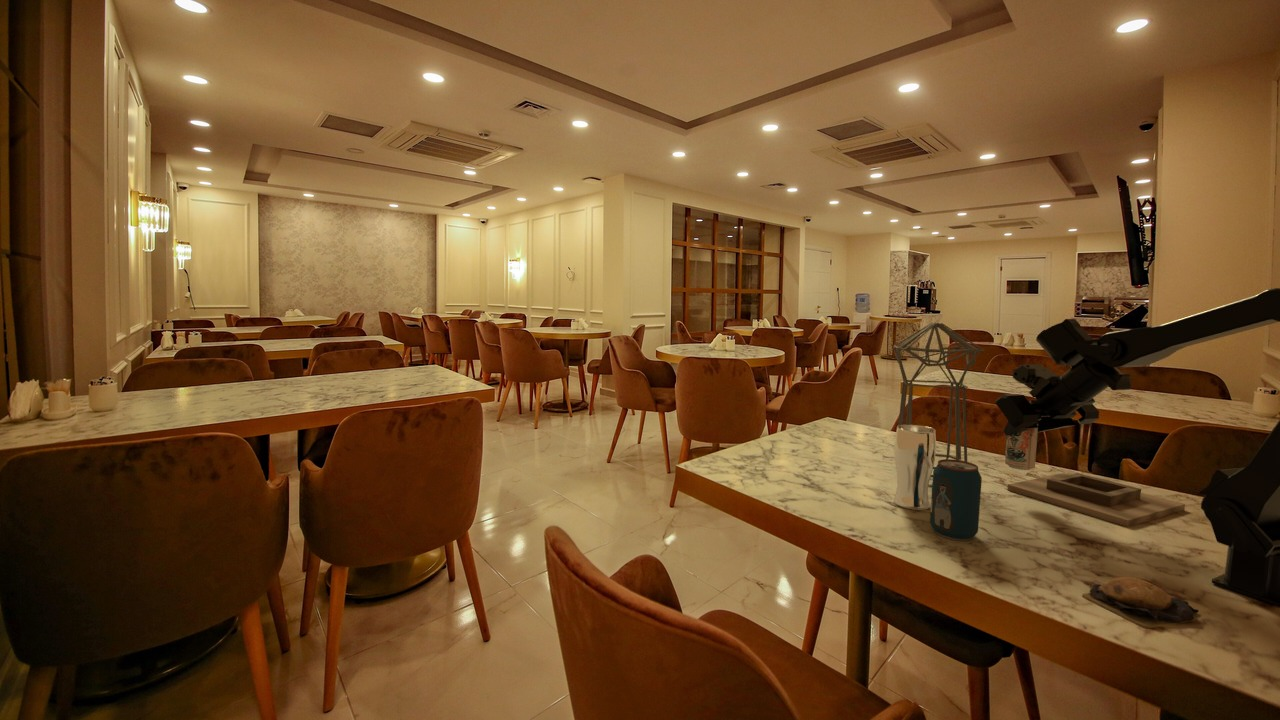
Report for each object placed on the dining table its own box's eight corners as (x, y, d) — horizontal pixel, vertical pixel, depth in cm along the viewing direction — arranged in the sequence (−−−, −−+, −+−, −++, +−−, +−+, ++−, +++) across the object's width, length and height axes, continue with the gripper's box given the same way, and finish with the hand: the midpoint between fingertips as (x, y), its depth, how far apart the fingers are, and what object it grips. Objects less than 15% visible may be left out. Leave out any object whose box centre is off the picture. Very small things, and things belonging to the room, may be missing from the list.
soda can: (976, 530, 88) (981, 462, 87) (978, 546, 82) (984, 473, 81) (929, 521, 92) (934, 455, 90) (928, 536, 86) (933, 466, 84)
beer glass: (883, 500, 102) (887, 425, 100) (909, 496, 104) (914, 423, 103) (913, 513, 95) (918, 433, 94) (940, 508, 98) (945, 431, 96)
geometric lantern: (892, 487, 109) (898, 322, 107) (887, 468, 124) (893, 322, 121) (979, 497, 103) (988, 322, 101) (964, 476, 118) (971, 322, 115)
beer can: (999, 465, 103) (1003, 406, 102) (1014, 462, 105) (1019, 404, 104) (1024, 472, 99) (1029, 410, 98) (1040, 469, 101) (1045, 408, 99)
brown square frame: (1127, 526, 90) (1129, 509, 90) (1007, 489, 108) (1008, 475, 108) (1184, 510, 98) (1186, 493, 98) (1063, 478, 116) (1064, 464, 116)
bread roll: (1148, 636, 61) (1151, 607, 60) (1073, 597, 69) (1075, 570, 68) (1212, 623, 63) (1216, 595, 63) (1133, 587, 71) (1135, 561, 71)
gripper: (1087, 350, 98) (1027, 398, 110) (1008, 351, 94) (954, 401, 105) (1131, 397, 91) (1062, 443, 103) (1048, 401, 87) (986, 449, 99)
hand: (1015, 432), depth 103 cm, fingers closed on beer can, 5 cm apart
